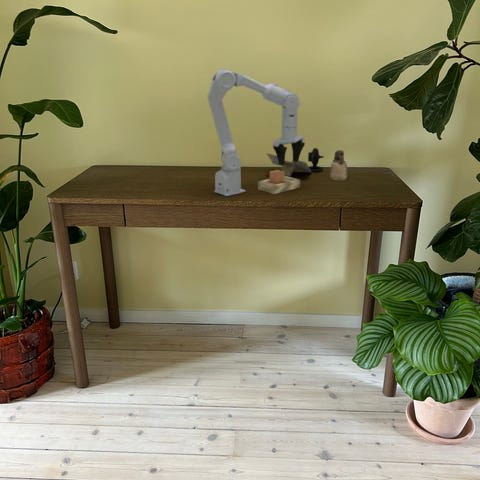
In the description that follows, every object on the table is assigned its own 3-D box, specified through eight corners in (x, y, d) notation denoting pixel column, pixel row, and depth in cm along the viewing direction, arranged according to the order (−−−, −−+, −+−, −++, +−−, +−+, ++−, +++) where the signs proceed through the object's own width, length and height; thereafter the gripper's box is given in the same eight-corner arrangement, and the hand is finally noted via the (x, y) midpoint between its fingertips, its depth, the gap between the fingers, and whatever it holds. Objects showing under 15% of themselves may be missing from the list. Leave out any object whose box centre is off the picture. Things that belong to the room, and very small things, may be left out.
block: (276, 191, 186) (276, 173, 183) (269, 189, 188) (269, 171, 186) (283, 189, 188) (284, 171, 185) (276, 187, 191) (277, 169, 188)
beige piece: (273, 194, 182) (274, 186, 181) (258, 189, 188) (258, 181, 187) (299, 187, 190) (300, 179, 189) (283, 182, 197) (283, 175, 196)
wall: (265, 182, 215) (259, 164, 200) (272, 163, 218) (267, 143, 202) (305, 192, 210) (302, 174, 194) (312, 173, 212) (310, 153, 197)
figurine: (344, 176, 206) (346, 148, 201) (348, 180, 199) (351, 151, 195) (328, 176, 206) (329, 148, 201) (331, 180, 199) (333, 151, 195)
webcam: (305, 168, 220) (306, 146, 216) (322, 168, 219) (323, 146, 215) (306, 172, 212) (307, 149, 209) (323, 172, 212) (325, 150, 208)
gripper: (283, 130, 173) (282, 167, 178) (310, 125, 182) (309, 161, 187) (269, 127, 178) (269, 164, 183) (297, 123, 187) (296, 158, 192)
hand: (288, 162), depth 185 cm, fingers open, 7 cm apart
